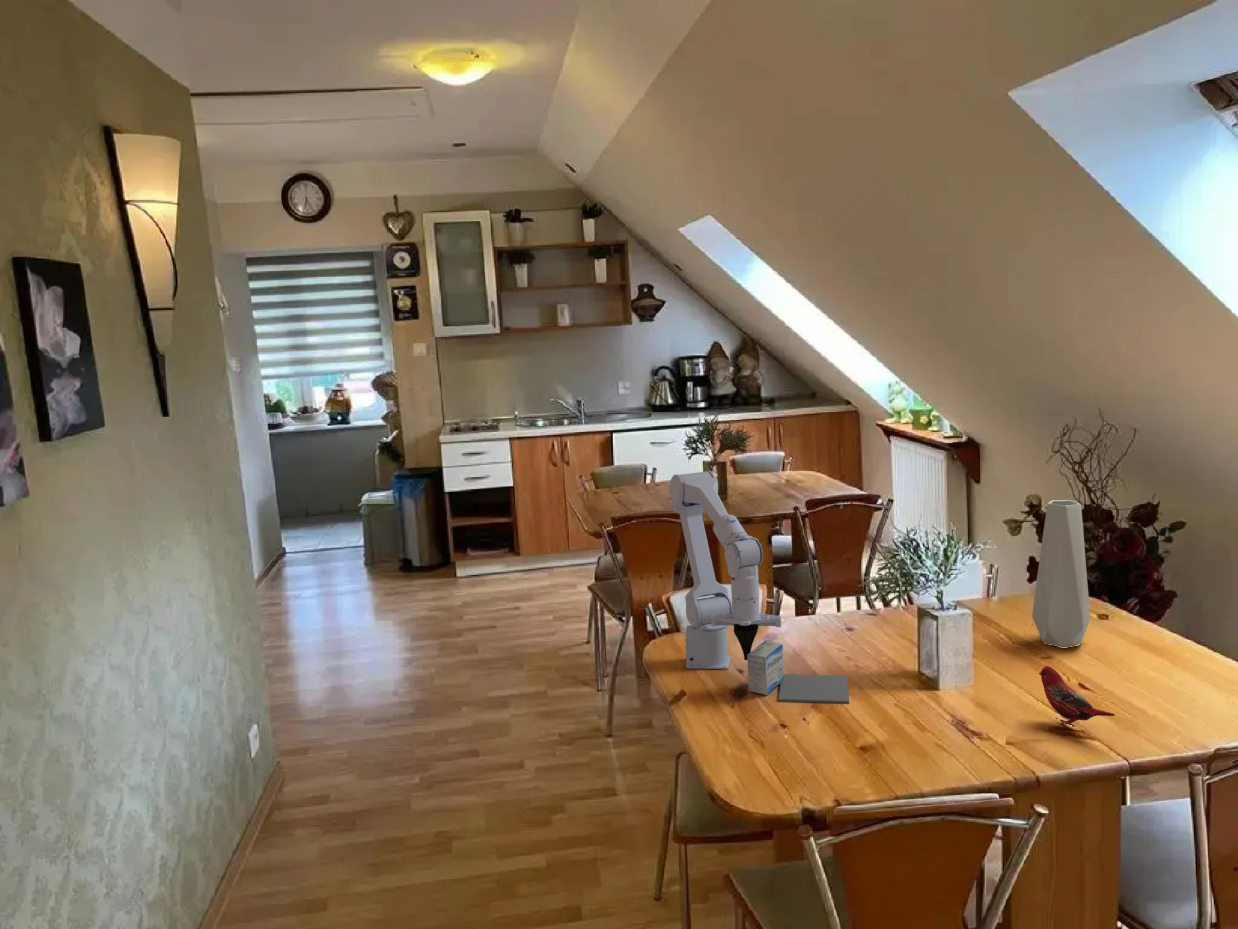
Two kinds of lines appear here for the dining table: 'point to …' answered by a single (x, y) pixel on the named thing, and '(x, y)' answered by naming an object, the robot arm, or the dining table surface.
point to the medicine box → (765, 667)
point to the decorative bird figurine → (1067, 698)
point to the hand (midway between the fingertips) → (747, 658)
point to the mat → (814, 688)
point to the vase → (1062, 577)
